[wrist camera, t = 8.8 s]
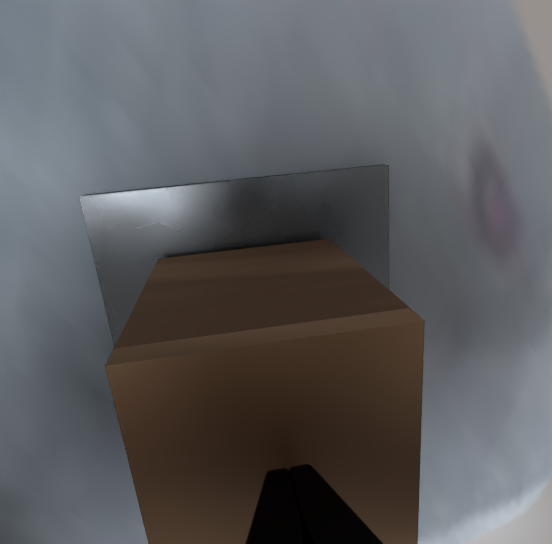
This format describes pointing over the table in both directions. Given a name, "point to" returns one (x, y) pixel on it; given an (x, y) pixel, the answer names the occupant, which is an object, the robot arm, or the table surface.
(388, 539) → the cardboard carton
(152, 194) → the gray square base stand
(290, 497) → the robot arm
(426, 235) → the table surface
